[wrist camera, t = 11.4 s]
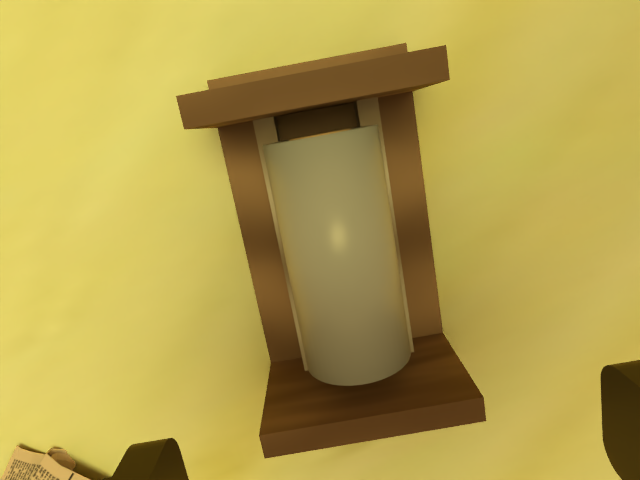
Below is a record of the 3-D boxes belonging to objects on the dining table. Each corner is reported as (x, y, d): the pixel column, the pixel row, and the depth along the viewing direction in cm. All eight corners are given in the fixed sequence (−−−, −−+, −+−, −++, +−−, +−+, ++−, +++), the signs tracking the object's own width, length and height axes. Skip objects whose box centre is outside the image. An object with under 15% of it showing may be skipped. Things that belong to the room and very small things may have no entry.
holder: (211, 82, 24) (168, 64, 17) (402, 46, 24) (442, 12, 17) (280, 388, 29) (269, 478, 21) (442, 360, 28) (488, 442, 21)
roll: (270, 141, 24) (252, 147, 19) (373, 122, 23) (383, 123, 18) (310, 340, 26) (304, 393, 21) (403, 327, 26) (419, 377, 21)
